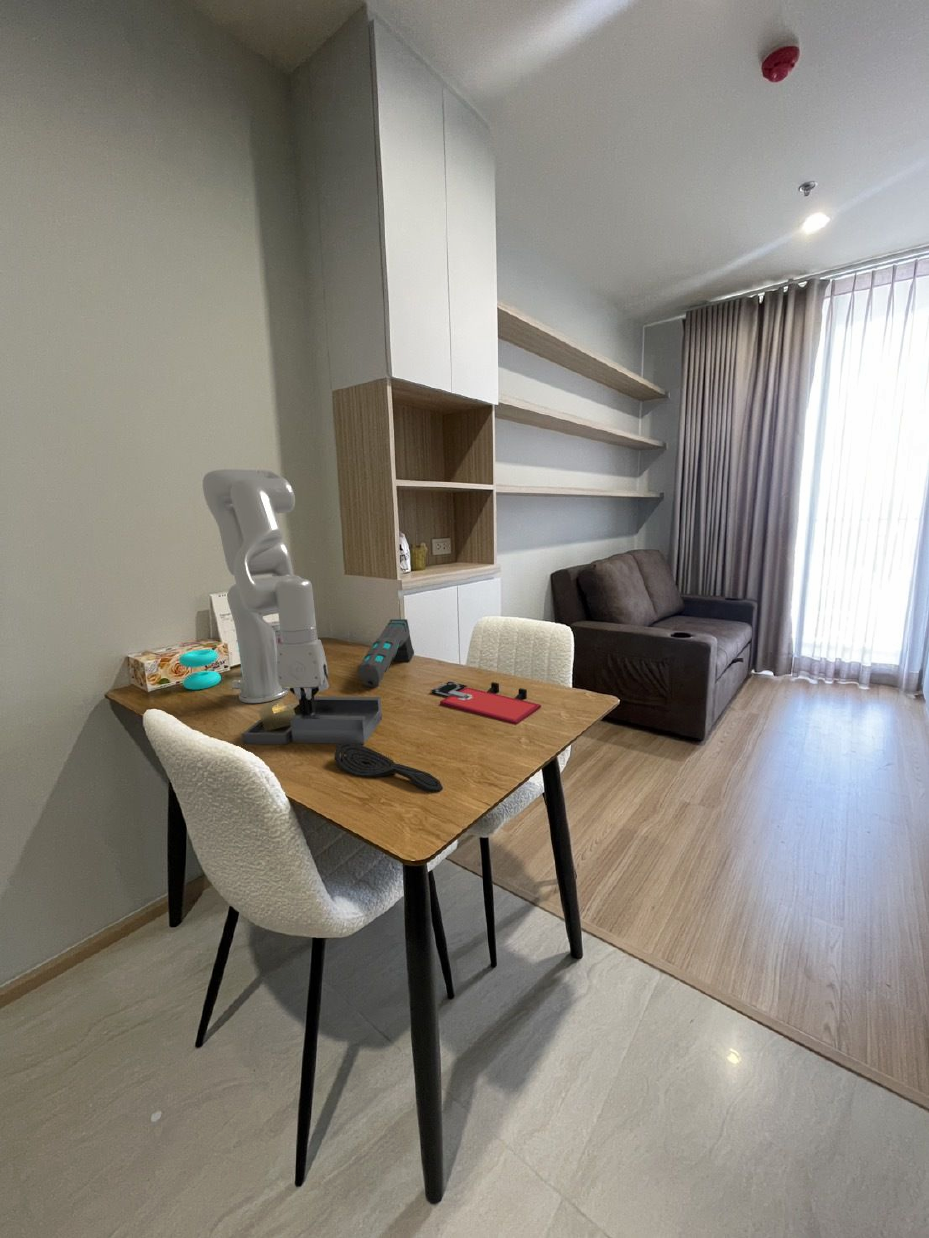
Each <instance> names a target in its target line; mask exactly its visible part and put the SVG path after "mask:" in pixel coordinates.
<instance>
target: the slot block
mask: <svg viewBox="0 0 929 1238" xmlns="http://www.w3.org/2000/svg"><path fill="white" fill-rule="evenodd" d="M314 699H315V710H314V712H313V713H312V714H311V715H294V716H293V717H291V718H290V722H291V730H292V738H293V739H292V743H297V744H299V743H300V744H301V743H302V744H304V743H305V744H338V745H340V744H342V743H343V742H345V743H349V742H350V743H357V744H359V743H360V745H361V744H362V745H365V744H366V742H367V741H368V739H370V737H371V735H372V734H373V733H374V731H375V729H376V728H377V727H378V726H379V724H380V722H381V721H382V720H383V713H382V712H383V711H382V702H381V701H382V697H381V696H323V695H322V696H317V695H315V696H314ZM347 739H348V740H347ZM343 740H344V741H343ZM351 740H352V741H351ZM355 740H356V741H355ZM340 741H342V742H340Z"/></svg>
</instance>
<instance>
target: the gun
mask: <svg viewBox="0 0 929 1238" xmlns="http://www.w3.org/2000/svg"><path fill="white" fill-rule="evenodd" d="M408 621H409V620H408V619H406V618H404V619H403V618H402V619H401V618H399V619H394V618H391V619H390V620H389V621H388V623H387V624H386V626H385V627H384V629H383V631H382V632H381V633H380V635H379V636H378V637H377V638H376V640H375V642H373V644H372V645H371V647H370V648H369V649H368V651H367V653H366V654H365V656H364V657H363V659H362V660H361V662H360V664H359V667H358V670H357V671H358V675H359V678H360V680H361V682H363V684H364V686H365V687H370V688H371V687H374V688H376V687H378V686H379V685H380V683H381V681H382V680H383V677H384V675H385V673H386V672H388V670H389V667H390V665H391V662H397V663H400V662H401V663H402V662H403V663H406V662H407V663H410V662H411V661H412V658H413V656H414V655H415V649H414V647H413V645H412V639H411V634H410V633H411V632H410V627H409V622H408Z"/></svg>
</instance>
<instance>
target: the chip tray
mask: <svg viewBox="0 0 929 1238" xmlns="http://www.w3.org/2000/svg"><path fill="white" fill-rule="evenodd" d="M241 738H242V744H244V745H245V744H247V745H248V744H249V745H250V744H251V745H252V744H253V745H288V744H289V743H290V742H291V741H293V738H292V730H291V725H289V726H284V727H280V728H277V729H273V730H268V731H265V728H264V726H263V723H262V720H261V719H259V720H258V721H256V722H255V723H253V725H252V726H250V727H249V728H248V729H247V730H244V731H243V732H242V733H241Z"/></svg>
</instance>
